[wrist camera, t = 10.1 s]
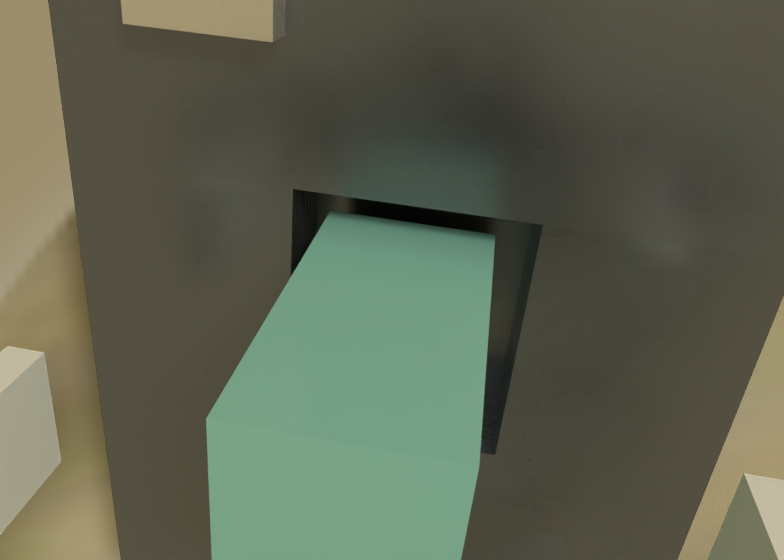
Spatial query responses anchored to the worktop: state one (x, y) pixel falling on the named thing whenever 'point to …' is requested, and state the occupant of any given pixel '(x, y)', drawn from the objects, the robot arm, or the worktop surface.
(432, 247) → the plug
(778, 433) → the worktop surface
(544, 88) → the socket
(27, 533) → the worktop surface
